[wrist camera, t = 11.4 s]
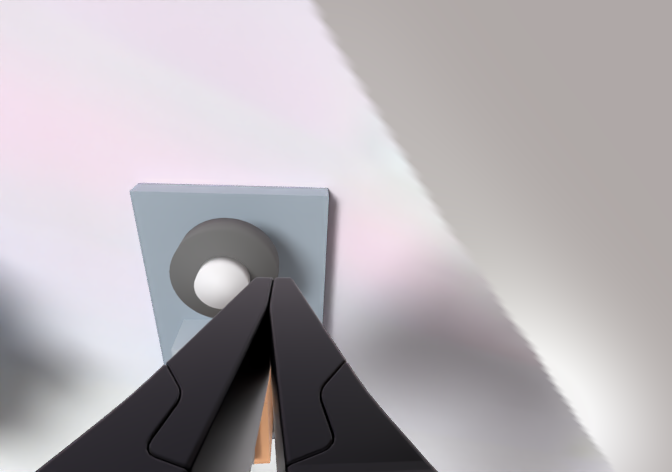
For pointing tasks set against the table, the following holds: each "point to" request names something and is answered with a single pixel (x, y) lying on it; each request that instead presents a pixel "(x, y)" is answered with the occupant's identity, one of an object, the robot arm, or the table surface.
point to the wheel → (220, 263)
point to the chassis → (239, 203)
